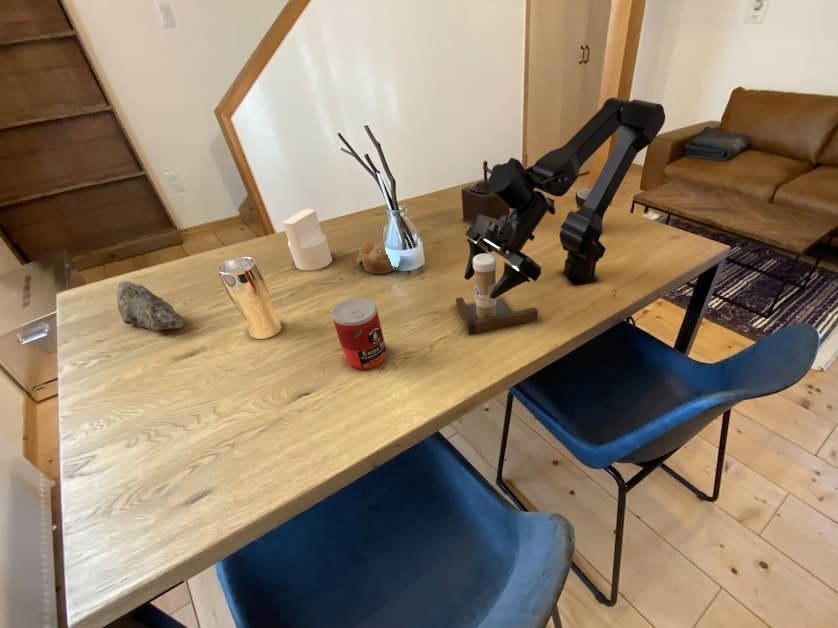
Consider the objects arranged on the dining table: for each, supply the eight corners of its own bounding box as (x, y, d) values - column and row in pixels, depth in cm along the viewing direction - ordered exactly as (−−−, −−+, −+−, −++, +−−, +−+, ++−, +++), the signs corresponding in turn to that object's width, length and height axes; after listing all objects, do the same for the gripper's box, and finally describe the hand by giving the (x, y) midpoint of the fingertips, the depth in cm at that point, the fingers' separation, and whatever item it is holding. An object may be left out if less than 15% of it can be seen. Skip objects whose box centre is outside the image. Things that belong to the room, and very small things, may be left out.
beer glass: (249, 344, 87) (215, 277, 77) (246, 326, 92) (214, 261, 82) (286, 334, 89) (258, 268, 79) (281, 317, 94) (254, 252, 84)
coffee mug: (605, 236, 122) (611, 200, 115) (575, 236, 122) (579, 200, 116) (599, 219, 131) (604, 184, 124) (570, 219, 131) (574, 185, 124)
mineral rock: (188, 334, 90) (162, 291, 83) (126, 352, 86) (94, 309, 79) (183, 305, 98) (159, 264, 91) (127, 320, 94) (97, 278, 87)
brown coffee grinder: (460, 221, 130) (455, 156, 118) (484, 210, 137) (482, 147, 125) (500, 235, 123) (499, 168, 111) (524, 222, 129) (525, 157, 117)
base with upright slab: (318, 272, 108) (302, 225, 100) (288, 267, 110) (270, 221, 102) (339, 256, 115) (326, 211, 106) (310, 251, 117) (295, 207, 109)
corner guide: (520, 295, 100) (520, 286, 98) (537, 320, 92) (538, 311, 90) (456, 308, 96) (455, 298, 94) (469, 335, 89) (468, 325, 87)
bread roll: (387, 289, 109) (395, 264, 103) (349, 270, 107) (355, 243, 102) (402, 270, 116) (410, 245, 111) (366, 251, 114) (372, 226, 109)
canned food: (368, 376, 80) (353, 327, 72) (337, 361, 83) (320, 313, 75) (396, 353, 84) (385, 305, 77) (366, 340, 88) (353, 293, 80)
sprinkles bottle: (471, 316, 93) (467, 258, 84) (485, 307, 96) (483, 250, 87) (487, 324, 91) (485, 266, 82) (501, 315, 93) (501, 257, 84)
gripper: (470, 183, 84) (427, 252, 87) (531, 214, 73) (480, 292, 76) (503, 214, 93) (463, 276, 96) (562, 245, 82) (515, 314, 84)
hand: (478, 288), depth 88 cm, fingers open, 9 cm apart
